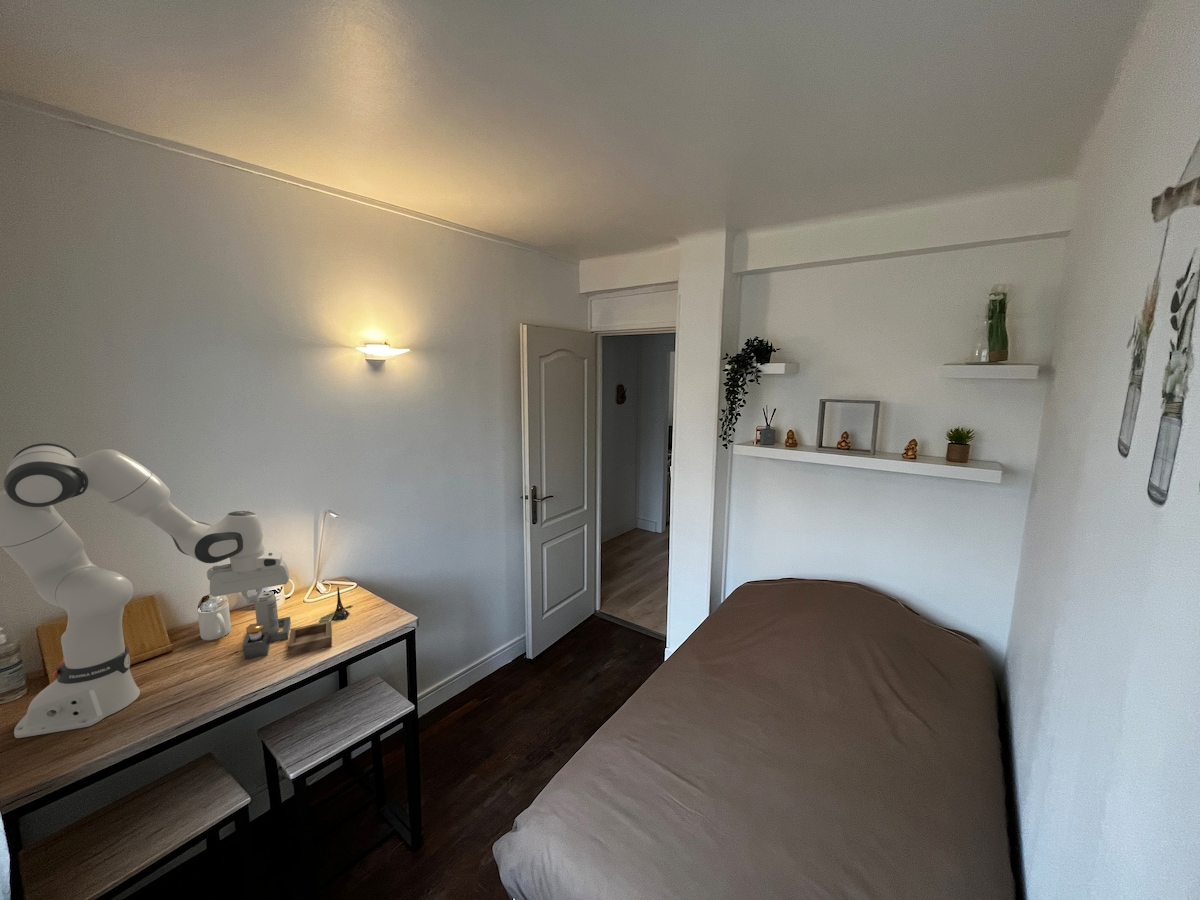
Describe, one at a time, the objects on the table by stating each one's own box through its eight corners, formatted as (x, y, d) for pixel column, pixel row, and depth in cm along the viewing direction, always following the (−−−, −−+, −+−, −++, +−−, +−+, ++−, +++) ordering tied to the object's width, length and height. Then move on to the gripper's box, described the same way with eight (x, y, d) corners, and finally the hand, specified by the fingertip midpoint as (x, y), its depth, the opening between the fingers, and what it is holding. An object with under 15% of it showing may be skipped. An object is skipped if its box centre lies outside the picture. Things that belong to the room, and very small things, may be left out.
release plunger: (247, 649, 149) (245, 631, 148) (249, 642, 153) (247, 625, 152) (263, 646, 152) (262, 628, 151) (265, 639, 155) (263, 621, 154)
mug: (239, 636, 162) (236, 608, 160) (209, 647, 155) (205, 618, 154) (226, 625, 169) (223, 598, 167) (197, 635, 162) (193, 607, 161)
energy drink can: (265, 630, 166) (261, 590, 164) (283, 630, 166) (279, 590, 164) (253, 639, 160) (249, 598, 158) (271, 640, 160) (267, 598, 158)
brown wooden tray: (288, 656, 151) (287, 646, 151) (291, 638, 162) (290, 628, 161) (331, 646, 157) (330, 637, 157) (331, 629, 167) (331, 620, 167)
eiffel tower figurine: (351, 606, 186) (349, 574, 184) (366, 613, 181) (364, 580, 179) (312, 622, 173) (309, 588, 171) (327, 630, 168) (325, 595, 166)
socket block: (240, 661, 148) (238, 646, 148) (250, 631, 166) (248, 617, 165) (286, 651, 154) (284, 637, 153) (290, 623, 171) (289, 610, 171)
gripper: (203, 571, 140) (209, 614, 143) (285, 558, 150) (290, 599, 153) (208, 563, 146) (214, 605, 148) (287, 551, 156) (291, 590, 158)
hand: (253, 601), depth 150 cm, fingers closed
